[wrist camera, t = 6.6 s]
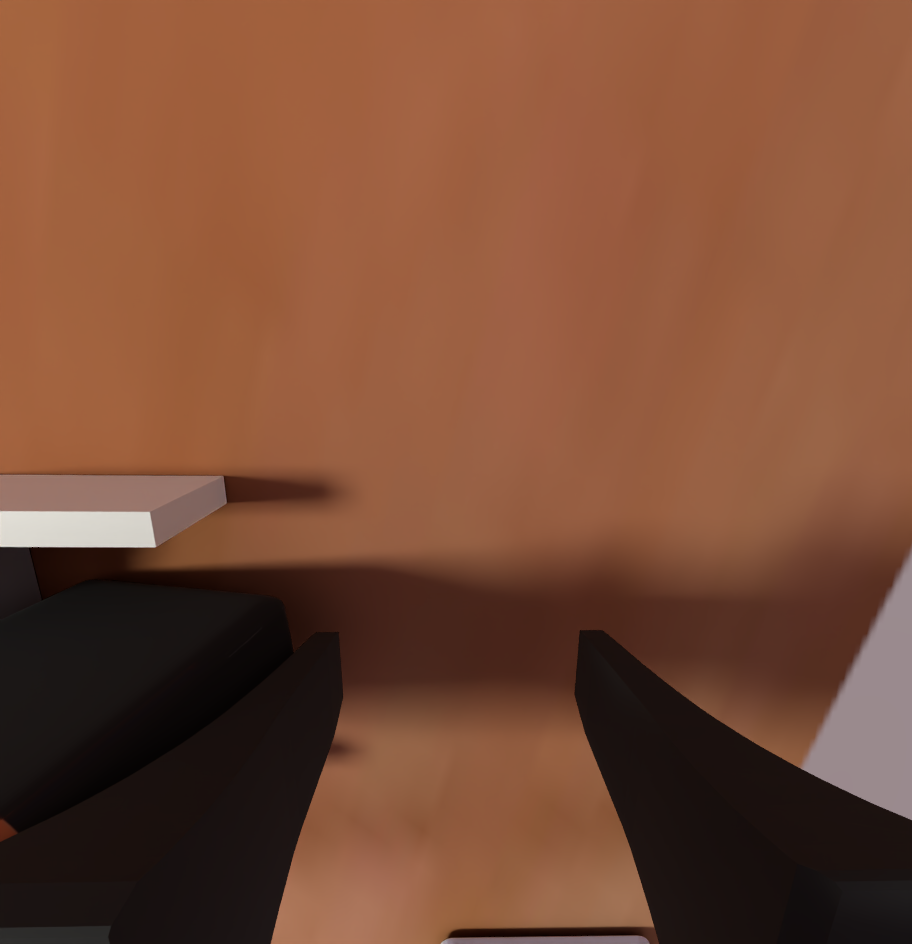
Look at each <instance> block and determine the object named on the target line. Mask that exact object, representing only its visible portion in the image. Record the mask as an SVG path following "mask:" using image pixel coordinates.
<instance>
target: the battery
mask: <svg viewBox="0 0 912 944" xmlns="http://www.w3.org/2000/svg"><path fill="white" fill-rule="evenodd" d="M293 653H294V652H293V647H292V641H291V636H290V630H289V625H288V620H287V615H286V610H285V606H284V604H283V602H282V601H281V600H280V599H278V598H276V597H272V596H267V595H258V594H248V593H237V592H227V591H216V590H205V589H195V588H184V587H173V586H163V585H152V584H141V583H131V582H120V581H109V580H87V581H84V582H81V583H79V584H77V585H75V586H72V587H70V588H68V589H66V590H64V591H61V592H59V593H57V594H55V595H53V596H51V597H49V598H46V599H44V600H42V601H40V602H38V603H36V604H34V605H31V606H29V607H27V608H25V609H23V610H21V611H19V612H16V613H14V614H12V615H10V616H8V617H6V618H4V619H1V620H0V842H1V841H3V840H5V839H7V838H9V837H11V836H14V835H16V834H18V833H20V832H22V831H24V830H26V829H28V828H30V827H32V826H35V825H37V824H39V823H41V822H43V821H45V820H47V819H49V818H51V817H54V816H56V815H58V814H60V813H62V812H64V811H66V810H68V809H69V808H71V807H73V806H75V805H77V804H79V803H81V802H83V801H85V800H87V799H89V798H90V797H92V796H94V795H96V794H98V793H100V792H102V791H104V790H105V789H107V788H109V787H111V786H112V785H114V784H116V783H118V782H120V781H121V780H123V779H125V778H127V777H128V776H130V775H132V774H134V773H135V772H137V771H139V770H140V769H142V768H143V767H145V766H147V765H148V764H150V763H151V762H153V761H155V760H156V759H158V758H159V757H161V756H163V755H164V754H166V753H167V752H169V751H171V750H172V749H174V748H175V747H177V746H179V745H180V744H182V743H183V742H185V741H186V740H188V739H189V738H190V737H192V736H193V735H195V734H196V733H197V732H199V731H200V730H202V729H203V728H205V727H206V726H207V725H209V724H210V723H212V722H213V721H214V720H216V719H217V718H218V717H220V716H221V715H222V714H224V713H225V712H226V711H227V710H229V709H230V708H231V707H232V706H234V705H235V704H236V703H237V702H238V701H240V700H241V699H242V698H243V697H244V696H246V695H247V694H248V693H249V692H251V691H252V690H253V689H254V688H255V687H257V686H258V685H259V684H260V683H261V682H262V681H264V680H265V679H266V678H267V677H268V676H269V675H270V674H271V673H272V672H274V671H275V670H276V669H277V668H278V667H279V666H280V665H281V664H282V663H283V662H284V661H286V660H287V659H288V658H289V657H290V656H291V655H292V654H293Z"/></svg>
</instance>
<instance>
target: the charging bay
mask: <svg viewBox="0 0 912 944" xmlns="http://www.w3.org/2000/svg"><path fill="white" fill-rule="evenodd" d="M225 504H227V500H226V492H225V484H224V476H150V475H0V620H1V619H4V618H6V617H8V616H10V615H12V614H14V613H16V612H19V611H21V610H23V609H25V608H27V607H29V606H31V605H34V604H36V603H38V602H40V601H42V599H41V595H40V591H39V587H38V583H37V579H36V575H35V571H34V567H33V563H32V559H31V555H30V551H29V547H157V546H159V545H161V544H162V543H164V542H165V541H167V540H169V539H170V538H172V537H174V536H175V535H177V534H178V533H180V532H182V531H183V530H185V529H186V528H188V527H190V526H191V525H193V524H195V523H196V522H198V521H199V520H201V519H203V518H204V517H206V516H207V515H209V514H211V513H212V512H214V511H216V510H217V509H219V508H220V507H222V506H224V505H225Z"/></svg>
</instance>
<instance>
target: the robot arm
mask: <svg viewBox="0 0 912 944" xmlns="http://www.w3.org/2000/svg"><path fill="white" fill-rule="evenodd" d="M575 698H576V702H577V705H578V709H579V713H580V717H581V720H582V724H583V727H584V731H585V734H586V736H587V739H588V742H589V744H590V747H591V749H592V752H593V754H594V757H595V759H596V762H597V764H598V767H599V769H600V772H601V774H602V777H603V779H604V781H605V784H606V786H607V789H608V791H609V794H610V796H611V799H612V801H613V804H614V806H615V809H616V811H617V814H618V816H619V819H620V821H621V823H622V826H623V829H624V832H625V834H626V837H627V840H628V843H629V845H630V848H631V851H632V854H633V858H634V861H635V864H636V867H637V871H638V874H639V877H640V880H641V883H642V887H643V890H644V893H645V896H646V900H647V903H648V906H649V910H650V913H651V917H652V920H653V923H654V927H655V930H656V934H657V937H658V940H659V944H912V820H910V819H908V818H905V817H903V816H901V815H898V814H896V813H893V812H891V811H889V810H886V809H883V808H881V807H879V806H877V805H874V804H872V803H870V802H868V801H866V800H863V799H861V798H859V797H857V796H855V795H853V794H851V793H849V792H847V791H844V790H842V789H840V788H838V787H836V786H834V785H832V784H830V783H828V782H826V781H824V780H821V779H820V778H818V777H815V776H814V775H812V774H810V773H808V772H806V771H804V770H802V769H800V768H798V767H796V766H795V765H793V764H791V763H789V762H787V761H786V760H784V759H782V758H780V757H778V756H777V755H775V754H773V753H771V752H769V751H767V750H766V749H764V748H762V747H760V746H759V745H757V744H755V743H754V742H752V741H750V740H749V739H747V738H745V737H744V736H742V735H740V734H739V733H737V732H736V731H734V730H733V729H731V728H729V727H728V726H726V725H725V724H723V723H722V722H720V721H719V720H717V719H715V718H714V717H712V716H711V715H709V714H708V713H707V712H705V711H704V710H702V709H701V708H699V707H698V706H697V705H695V704H694V703H692V702H691V701H690V700H688V699H687V698H686V697H684V696H683V695H682V694H680V693H679V692H677V691H676V690H675V689H674V688H672V687H671V686H670V685H668V684H667V683H666V682H664V681H663V680H662V679H661V678H659V677H658V676H657V675H656V674H654V673H653V672H652V671H651V670H649V669H648V668H647V667H646V666H645V665H643V664H642V663H641V662H640V661H639V660H637V659H636V658H635V657H634V656H633V655H631V654H630V653H629V652H628V651H627V650H626V649H624V648H623V647H622V646H621V645H620V644H618V643H617V642H616V641H615V640H614V639H613V638H611V637H610V636H609V635H608V634H606V633H605V632H604V631H603V630H580V635H579V647H578V659H577V671H576V683H575ZM342 700H343V687H342V673H341V659H340V646H339V632H316V633H315V634H313V635H312V636H311V637H310V638H309V639H308V640H307V641H306V642H305V643H304V644H303V645H302V646H300V647H299V648H298V649H297V650H296V651H295V652H294V653H293V654H292V655H291V656H290V657H289V658H288V659H287V660H286V661H284V662H283V663H282V664H281V665H280V666H279V667H278V668H277V669H276V670H275V671H274V672H272V673H271V674H270V675H269V676H268V677H267V678H266V679H265V680H264V681H262V682H261V683H260V684H259V685H258V686H257V687H255V688H254V689H253V690H252V691H251V692H249V693H248V694H247V695H246V696H244V697H243V698H242V699H241V700H240V701H238V702H237V703H236V704H235V705H234V706H232V707H231V708H230V709H229V710H227V711H226V712H225V713H224V714H222V715H221V716H220V717H218V718H217V719H216V720H214V721H213V722H212V723H210V724H209V725H207V726H206V727H205V728H203V729H202V730H200V731H199V732H197V733H196V734H195V735H193V736H192V737H190V738H189V739H188V740H186V741H185V742H183V743H182V744H180V745H179V746H177V747H175V748H174V749H172V750H171V751H169V752H167V753H166V754H164V755H163V756H161V757H159V758H158V759H156V760H155V761H153V762H151V763H150V764H148V765H147V766H145V767H143V768H142V769H140V770H139V771H137V772H135V773H134V774H132V775H130V776H128V777H127V778H125V779H123V780H121V781H120V782H118V783H116V784H114V785H112V786H111V787H109V788H107V789H105V790H104V791H102V792H100V793H98V794H96V795H94V796H92V797H90V798H89V799H87V800H85V801H83V802H81V803H79V804H77V805H75V806H73V807H71V808H69V809H68V810H66V811H64V812H62V813H60V814H58V815H56V816H54V817H51V818H49V819H47V820H45V821H43V822H41V823H39V824H37V825H35V826H32V827H30V828H28V829H26V830H24V831H22V832H20V833H18V834H16V835H14V836H11V837H9V838H7V839H5V840H3V841H1V842H0V944H271V940H272V936H273V932H274V928H275V923H276V919H277V915H278V911H279V907H280V904H281V900H282V896H283V892H284V888H285V885H286V881H287V877H288V873H289V869H290V866H291V862H292V858H293V854H294V851H295V848H296V845H297V841H298V838H299V835H300V832H301V829H302V826H303V823H304V820H305V817H306V815H307V812H308V809H309V806H310V803H311V801H312V798H313V795H314V792H315V789H316V786H317V784H318V781H319V778H320V775H321V772H322V769H323V767H324V764H325V761H326V758H327V755H328V752H329V749H330V747H331V744H332V741H333V738H334V735H335V730H336V726H337V722H338V718H339V713H340V709H341V704H342ZM441 944H650V943H649V941H648V940H647V939H646V938H645V937H643V936H638V935H627V936H548V937H468V938H448V939H446V940H444V941H443V942H442V943H441Z"/></svg>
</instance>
